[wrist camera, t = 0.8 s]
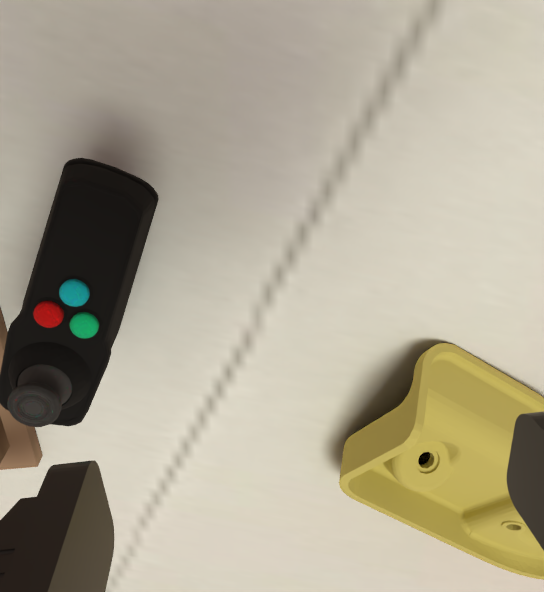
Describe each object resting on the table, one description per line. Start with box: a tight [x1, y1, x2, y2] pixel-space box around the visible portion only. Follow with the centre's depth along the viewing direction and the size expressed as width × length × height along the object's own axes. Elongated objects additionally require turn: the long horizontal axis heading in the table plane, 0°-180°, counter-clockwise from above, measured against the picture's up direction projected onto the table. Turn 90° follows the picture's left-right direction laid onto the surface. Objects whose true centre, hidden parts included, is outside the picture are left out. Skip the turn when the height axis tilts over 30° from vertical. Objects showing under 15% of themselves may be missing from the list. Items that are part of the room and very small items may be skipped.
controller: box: [0, 158, 158, 427], centre depth 24 cm, size 4×12×10 cm, turn 157°
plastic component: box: [339, 343, 544, 580], centre depth 36 cm, size 20×7×10 cm
